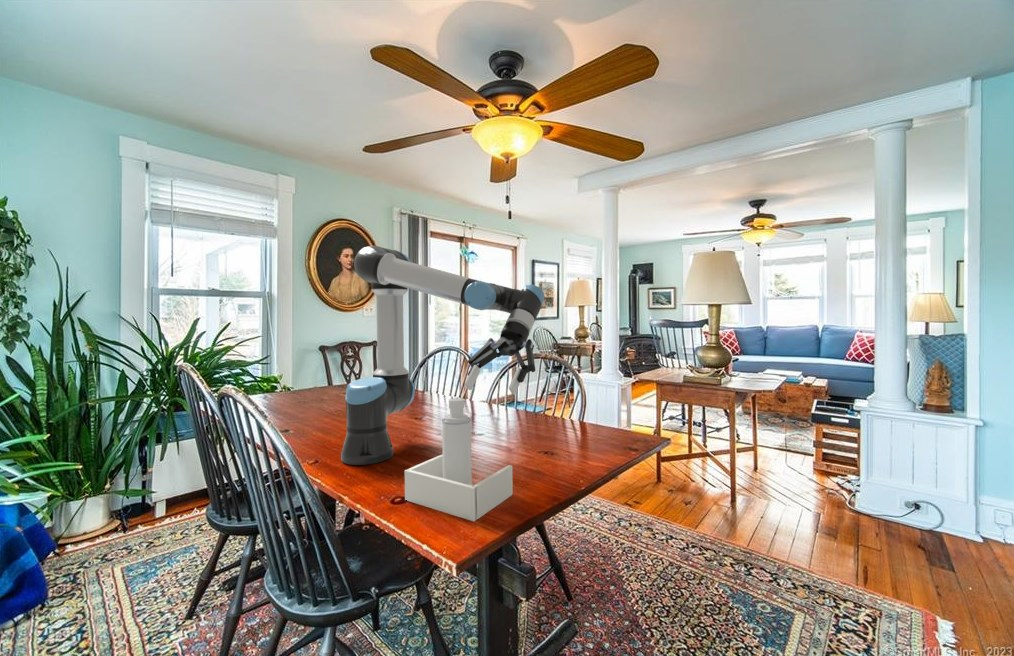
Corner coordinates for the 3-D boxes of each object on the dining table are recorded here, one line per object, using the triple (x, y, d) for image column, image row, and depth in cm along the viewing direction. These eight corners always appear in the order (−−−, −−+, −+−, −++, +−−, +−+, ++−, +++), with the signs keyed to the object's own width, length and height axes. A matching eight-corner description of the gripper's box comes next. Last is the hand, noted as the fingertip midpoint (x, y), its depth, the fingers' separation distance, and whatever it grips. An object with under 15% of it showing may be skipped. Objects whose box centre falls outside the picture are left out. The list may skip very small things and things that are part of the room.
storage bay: (405, 500, 100) (404, 470, 100) (447, 478, 113) (447, 451, 113) (474, 521, 89) (473, 488, 89) (512, 494, 102) (512, 465, 102)
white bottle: (473, 492, 104) (472, 390, 103) (470, 504, 97) (469, 395, 96) (445, 492, 104) (444, 390, 103) (440, 504, 97) (439, 395, 96)
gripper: (561, 338, 118) (537, 402, 106) (486, 336, 131) (457, 393, 119) (553, 319, 114) (526, 384, 101) (476, 319, 126) (444, 377, 114)
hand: (489, 389), depth 110 cm, fingers open, 13 cm apart
